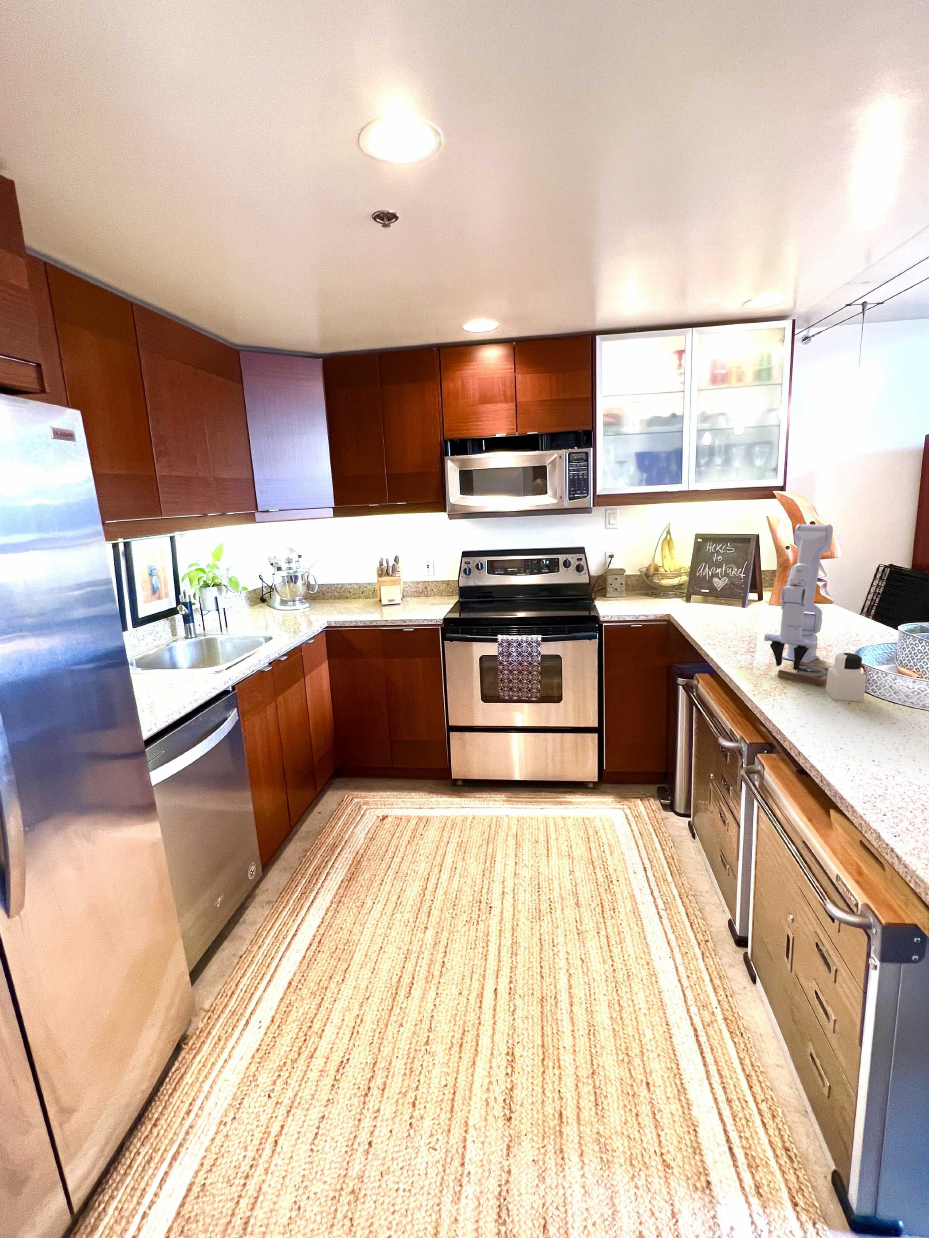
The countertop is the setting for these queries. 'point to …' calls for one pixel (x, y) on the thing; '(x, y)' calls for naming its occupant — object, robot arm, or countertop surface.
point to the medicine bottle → (846, 678)
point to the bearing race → (811, 671)
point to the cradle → (804, 677)
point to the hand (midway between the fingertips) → (787, 667)
